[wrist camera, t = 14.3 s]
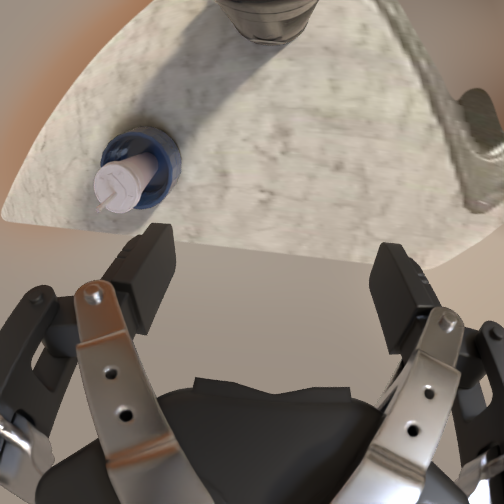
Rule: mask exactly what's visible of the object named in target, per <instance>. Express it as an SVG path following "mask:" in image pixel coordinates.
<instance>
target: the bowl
mask: <svg viewBox="0 0 504 504" xmlns="http://www.w3.org/2000/svg"><path fill="white" fill-rule="evenodd" d="M145 152H148V153H151V154H153V155H154V156H155V157H156V158H157V161H158V170H157V172H156V173H155V175H154V176H153V177H152V179H151V180H150V182H149V183H148V184H147V186H146V187H145V189H144V190H143V192H142V193H141V197H140V200H139V202H138V203H137V204H136V206H134V207H133V208H134V209H146V208H151V207H153V206H155V205H157V204H158V203H160V202H161V201H162V200H163V199H164V198H165V197H166V195H167V194H168V193H169V192H170V191H171V190H172V188H173V187H174V186H175V185H176V184H177V182H178V179H179V177H180V174H181V163H182V161H181V157H180V153H179V150H178V148H177V146H176V144H175V143H174V141H173V140H172V139H171V138H170V137H169V136H168V135H167V134H166V133H164V132H163V131H161V130H159V129H156V128H154V127H142V126H141V127H138V128H135V129H131V130H129V131H127V132H124V133H122V134H120V135H118V136H116V137H115V138H114V139H113V140H111V141H110V142H109V143H108V145H107V147H106V148H105V150H104V152H103V155H102V159H101V164H100V166H101V167H103V166H104V165H105V164H107V163H109V162H113V161H121V160H124V159H127V158H130V157H132V156H135V155H138V154H141V153H145Z"/></svg>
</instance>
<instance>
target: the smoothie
mask: <svg viewBox="0 0 504 504" xmlns="http://www.w3.org/2000/svg"><path fill="white" fill-rule="evenodd" d="M157 170H158V161H157V158H156V157H155V156H154V155H153V154H151V153H148V152H145V153H141V154H138V155H135V156H132V157H130V158H127V159H124V160H121V161H113V162H109V163H107V164H105V165H104V166H103V167H101V168H100V169H99V170H98V172H97V173H96V175H95V178H94V192H95V195H96V197H97V199H98V201H99V202H100V203H101V204H100V205H99V206H98V207H97V208H96V209H95V211H96V212H97V213H99V212H100V211H101V210H102V209H103V208H104V207H105V208H106V209H107V210H109V211H111V212H114V213H125V212H128V211H129V210H131V209H132V208H133V207H134V206H136V204H137V203H138V202H139V200H140V197H141V193H142V192H143V190H144V189H145V187H146V186H147V184H148V183H149V182H150V180H151V179H152V177H153V176H154V175H155V173H156V172H157Z"/></svg>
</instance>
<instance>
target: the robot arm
mask: <svg viewBox="0 0 504 504" xmlns="http://www.w3.org/2000/svg"><path fill="white" fill-rule="evenodd" d="M215 1H216V2H217V4H218V5H219V6H220V7H221V8H222V10H223V11H224V12H225V13H226V15H227V16H228V17H229V18H230V20H231V21H232V22H233V23H234V25H235V27H236V29H237V30H238V31H239V32H240V33H241V34H242V35H243V36H244V37H245V38H247V39H248V40H250V41H252V42H255V43H258V44H262V45H280V44H285V43H287V42H290V41H292V40H294V39H295V38H297V37H298V36H299V35H300V34H301V33H302V32H303V31H304V29H305V27H306V25H307V23H308V20H309V18H310V16H311V14H312V12H313V10H314V8H315V6H316V4H317V2H318V1H319V0H215ZM175 267H176V254H175V246H174V237H173V229H172V226H171V224H163V223H151V224H150V225H149V227H148V228H147V229H146V231H145V232H144V233H143V235H137V236H136V237H134V238H133V239H131V240H130V241H129V242H128V243H127V244H126V245H125V246H124V248H123V249H122V251H121V252H120V253H119V254H118V256H117V258H115V260H114V261H113V263H112V264H111V266H110V267H109V268H108V269H107V271H106V272H105V274H104V275H103V277H102V278H101V279H100V280H93V281H90V282H87V283H86V284H84V285H82V286H81V287H80V288H79V289H78V290H77V291H76V293H75V295H74V296H66V297H56V295H55V292H54V290H53V289H52V287H50V286H47V285H40V286H37V287H34V288H32V289H31V290H30V291H28V292H27V293H26V294H25V295H24V296H23V298H22V299H21V300H20V302H19V303H18V305H17V306H16V308H15V309H14V310H13V312H12V314H11V315H10V317H9V318H8V319H7V321H6V322H5V324H4V326H3V327H2V329H1V330H0V485H1V486H3V487H4V488H5V489H7V490H8V491H10V492H11V493H13V494H14V495H16V496H17V497H19V498H20V499H22V500H24V501H25V502H27V503H29V504H504V328H503V327H502V326H501V325H499V324H498V323H496V322H493V321H486V322H484V324H483V325H482V327H481V328H480V329H479V331H478V330H474V329H471V328H466V327H464V323H463V321H462V319H461V318H460V316H459V315H458V314H456V313H455V312H454V311H453V310H451V309H449V308H446V307H442V306H441V304H440V302H439V300H438V298H437V296H436V294H435V292H434V291H433V289H432V287H431V285H430V284H429V282H428V280H427V278H426V277H425V274H424V273H423V271H422V269H421V267H420V266H419V265H418V264H417V263H416V262H415V261H414V260H413V259H412V258H409V257H408V255H407V254H406V252H405V250H404V248H403V247H402V245H401V244H395V243H386V242H383V243H381V245H380V247H379V250H378V253H377V256H376V259H375V262H374V265H373V268H372V271H371V274H370V278H369V288H370V292H371V295H372V298H373V301H374V304H375V307H376V310H377V313H378V317H379V320H380V323H381V327H382V330H383V334H384V337H385V340H386V344H387V347H388V351H389V354H401V356H402V359H401V361H400V362H399V364H398V366H397V368H396V369H395V371H394V373H393V375H392V377H391V379H390V381H389V383H388V384H387V386H386V388H385V390H384V392H383V393H382V395H381V397H380V398H379V400H378V401H377V403H376V404H375V406H372V405H370V404H368V403H366V402H363V401H361V400H358V399H355V398H351V393H350V387H312V388H307V389H302V390H297V391H292V392H287V393H281V394H269V393H266V392H263V391H259V390H256V389H253V388H250V387H247V386H244V385H240V384H238V383H235V382H228V381H220V380H211V379H204V378H197V377H195V381H194V385H193V388H185V389H179V390H176V391H172V392H169V393H166V394H164V395H162V396H160V397H158V398H157V397H156V395H155V392H154V391H153V388H152V386H151V384H150V382H149V379H148V377H147V375H146V372H145V370H144V368H143V365H142V363H141V361H140V358H139V356H138V353H137V351H136V348H135V345H134V343H133V339H134V336H135V334H142V335H147V334H148V331H149V329H150V327H151V324H152V322H153V319H154V317H155V314H156V313H157V310H158V308H159V306H160V303H161V301H162V299H163V297H164V294H165V292H166V290H167V288H168V286H169V283H170V281H171V279H172V277H173V275H174V272H175ZM40 342H42V343H43V345H44V346H45V348H44V349H43V352H42V353H41V355H40V357H39V359H38V361H37V363H36V365H35V367H34V369H33V371H32V368H31V361H32V357H33V355H34V353H35V351H36V350H37V348H38V346H39V344H40ZM77 362H78V364H79V369H80V373H81V377H82V382H83V386H84V390H85V394H86V398H87V402H88V405H89V409H90V412H91V416H92V419H93V422H94V425H95V428H96V432H97V435H98V438H97V439H96V440H94V441H93V442H91V443H90V444H88V445H86V446H85V447H83V448H82V449H80V450H79V451H77V452H75V453H74V454H72V455H71V456H69V457H67V458H66V459H64V460H63V461H61V462H59V463H58V464H56V465H54V466H53V467H52V465H53V463H54V461H55V458H54V455H53V454H52V447H51V444H50V441H49V436H50V432H51V430H52V427H53V424H54V421H55V418H56V415H57V412H58V410H59V407H60V404H61V402H62V399H63V396H64V394H65V392H66V389H67V387H68V384H69V382H70V379H71V377H72V374H73V372H74V369H75V367H76V365H77ZM486 374H487V376H488V379H489V382H490V385H491V388H492V392H493V397H492V401H491V403H490V405H489V406H488V407H486V403H485V400H484V396H483V393H482V390H481V386H480V383H479V381H480V380H481V379H482V378H483V377H484V376H485V375H486ZM451 410H452V415H453V420H454V425H455V430H456V435H457V441H458V447H459V453H460V460H461V467H462V469H461V472H460V474H459V478H458V479H457V480H455V482H453V481H452V480H451V479H450V478H449V477H448V476H447V475H446V474H444V472H443V471H441V469H439V468H438V467H437V466H436V465H435V464H434V463H433V462H432V461H431V460H432V457H433V455H434V453H435V451H436V448H437V446H438V443H439V441H440V438H441V436H442V433H443V431H444V428H445V425H446V423H447V420H448V417H449V414H450V411H451Z"/></svg>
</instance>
